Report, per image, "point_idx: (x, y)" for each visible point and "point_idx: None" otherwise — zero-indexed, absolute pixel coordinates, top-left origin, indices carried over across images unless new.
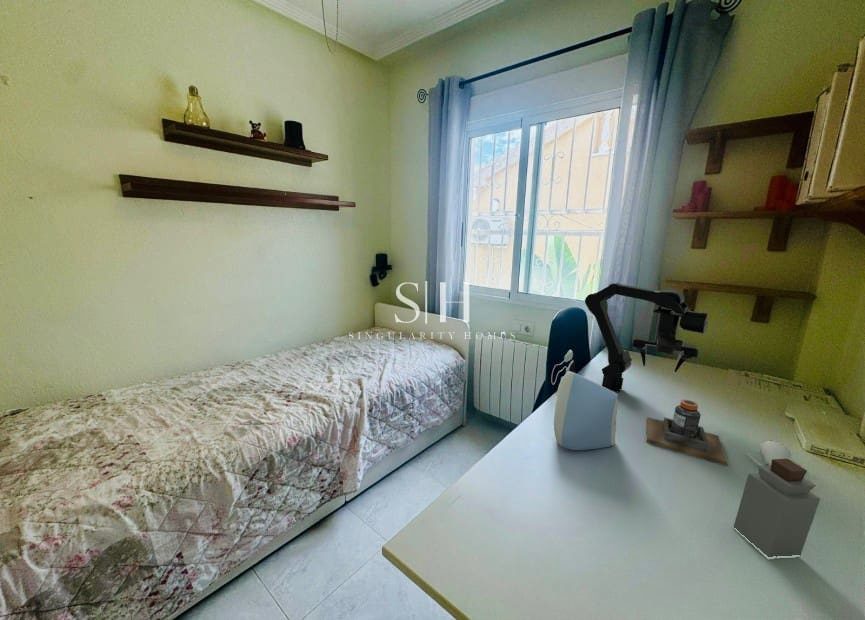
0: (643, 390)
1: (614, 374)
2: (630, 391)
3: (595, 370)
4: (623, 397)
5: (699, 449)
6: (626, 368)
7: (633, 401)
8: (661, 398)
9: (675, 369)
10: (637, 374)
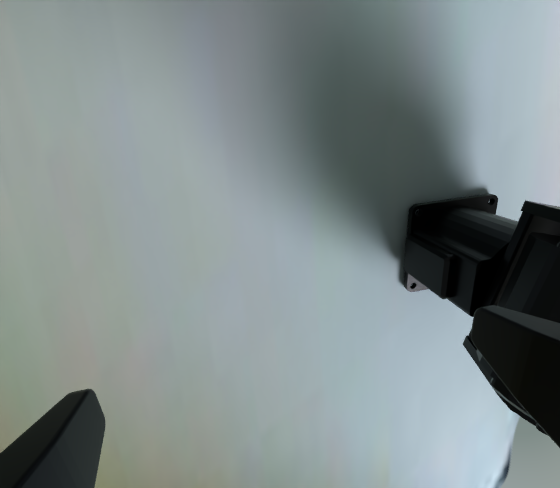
0: (302, 325)
1: (557, 207)
2: (357, 267)
3: None
4: (388, 159)
5: None
6: (544, 275)
7: (339, 142)
8: (214, 293)
9: (58, 427)
10: (337, 468)
